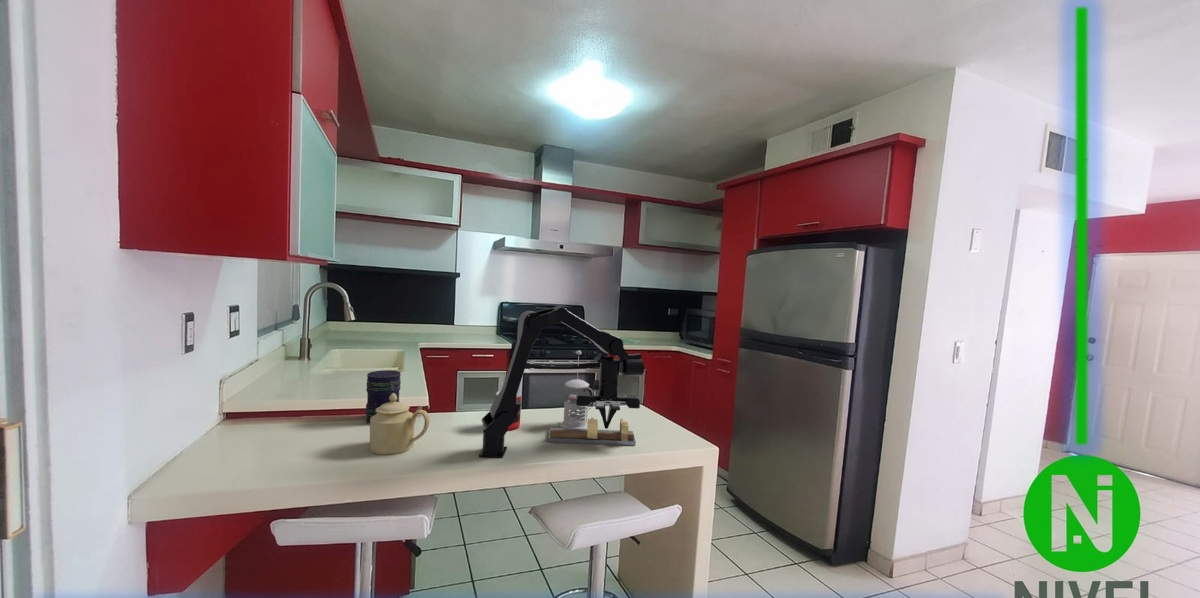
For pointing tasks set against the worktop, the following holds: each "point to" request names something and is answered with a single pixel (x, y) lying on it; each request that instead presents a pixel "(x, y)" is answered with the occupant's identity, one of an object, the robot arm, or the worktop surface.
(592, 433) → the slider
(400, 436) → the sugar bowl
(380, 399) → the storage jar
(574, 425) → the french press
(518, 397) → the canned food
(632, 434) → the beam
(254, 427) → the worktop surface
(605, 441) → the plate
